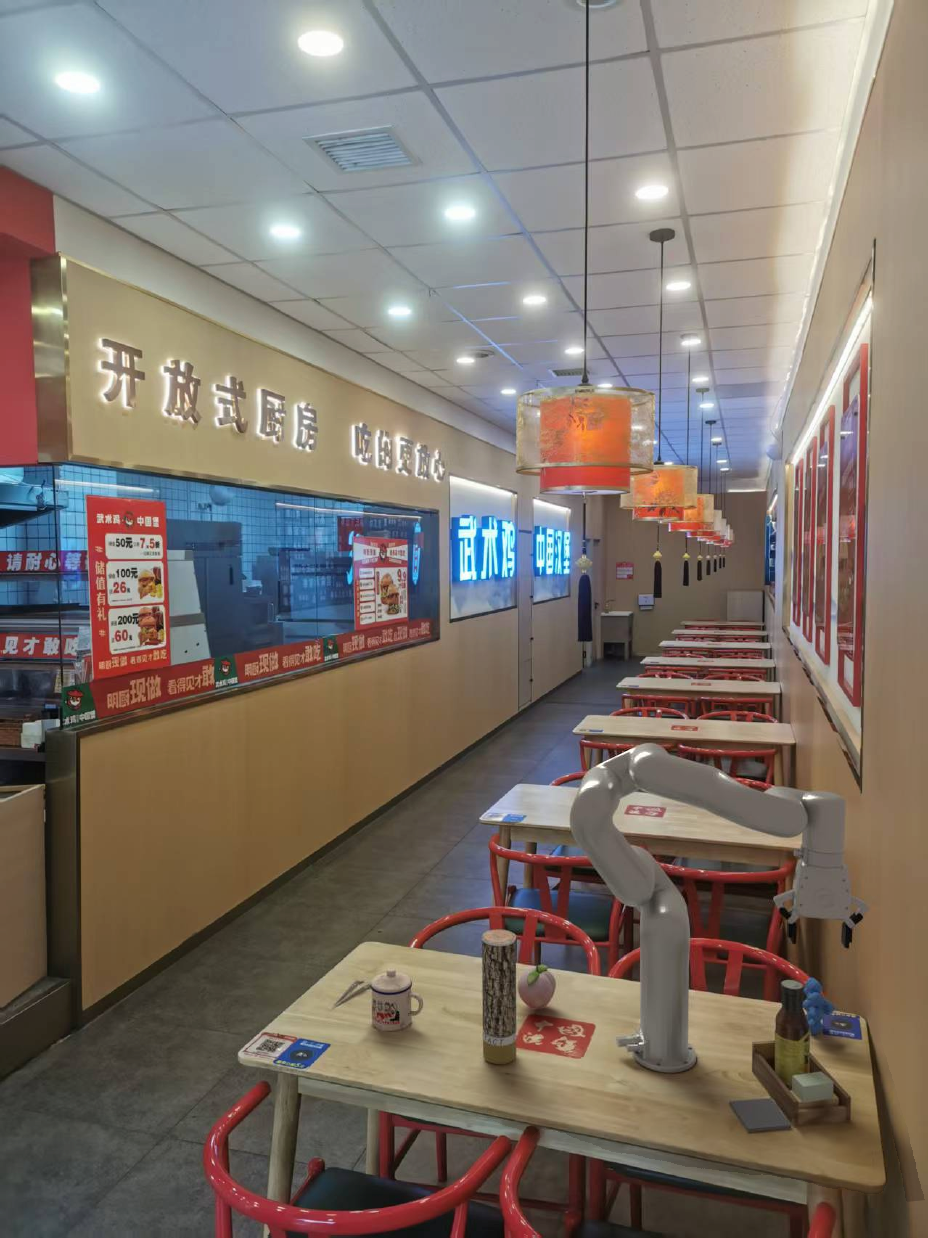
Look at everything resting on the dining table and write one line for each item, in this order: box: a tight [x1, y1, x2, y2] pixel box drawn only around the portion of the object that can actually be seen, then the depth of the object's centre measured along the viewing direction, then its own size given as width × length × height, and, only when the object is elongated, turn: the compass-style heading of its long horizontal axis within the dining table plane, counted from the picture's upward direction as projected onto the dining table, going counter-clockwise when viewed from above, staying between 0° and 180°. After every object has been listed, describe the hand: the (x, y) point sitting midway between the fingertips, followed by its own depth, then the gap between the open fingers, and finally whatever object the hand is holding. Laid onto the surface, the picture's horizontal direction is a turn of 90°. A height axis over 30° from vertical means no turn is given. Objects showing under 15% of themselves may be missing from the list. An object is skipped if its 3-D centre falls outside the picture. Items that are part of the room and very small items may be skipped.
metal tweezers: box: [329, 979, 371, 1011], centre depth 204 cm, size 17×5×2 cm, turn 151°
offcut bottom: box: [790, 1090, 839, 1109], centre depth 160 cm, size 8×4×4 cm, turn 98°
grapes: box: [803, 977, 836, 1036], centre depth 186 cm, size 12×7×12 cm, turn 165°
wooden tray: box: [751, 1039, 852, 1127], centre depth 165 cm, size 11×17×6 cm, turn 6°
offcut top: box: [792, 1071, 833, 1103], centre depth 160 cm, size 6×4×3 cm, turn 102°
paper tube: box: [481, 929, 517, 1065], centre depth 178 cm, size 7×7×25 cm
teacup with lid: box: [369, 967, 424, 1032], centre depth 192 cm, size 12×9×12 cm
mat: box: [728, 1097, 792, 1133], centre depth 159 cm, size 8×8×1 cm
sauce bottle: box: [774, 979, 811, 1090], centre depth 167 cm, size 7×6×20 cm
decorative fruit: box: [516, 964, 557, 1010], centre depth 198 cm, size 9×8×10 cm
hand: (818, 943), depth 171 cm, fingers open, 9 cm apart
